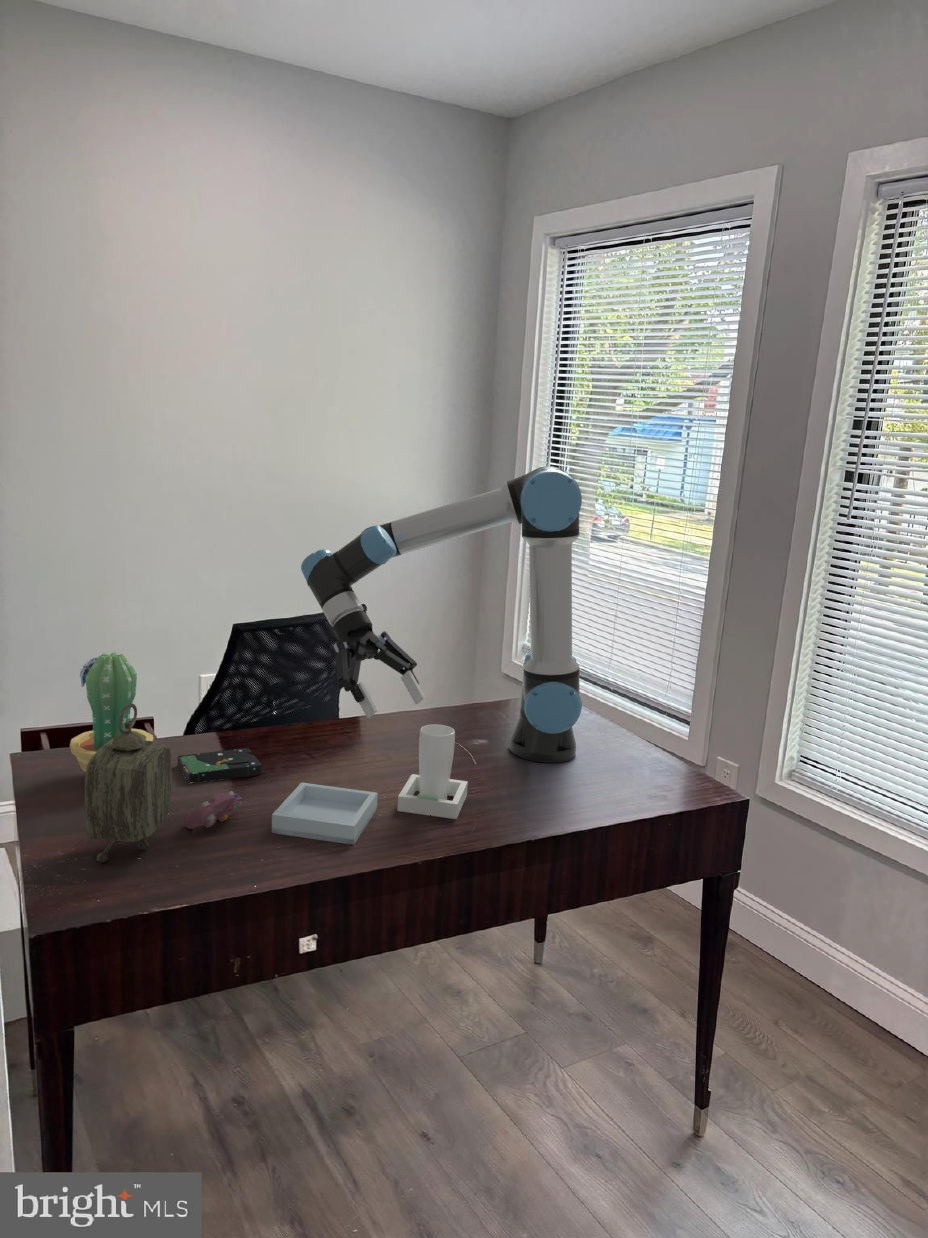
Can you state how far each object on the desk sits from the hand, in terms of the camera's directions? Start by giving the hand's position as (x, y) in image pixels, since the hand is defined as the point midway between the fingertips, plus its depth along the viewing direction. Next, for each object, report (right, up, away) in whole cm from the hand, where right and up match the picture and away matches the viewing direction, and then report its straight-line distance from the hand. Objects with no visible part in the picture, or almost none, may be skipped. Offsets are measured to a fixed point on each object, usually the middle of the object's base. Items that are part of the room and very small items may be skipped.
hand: (397, 707), depth 182 cm
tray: (-12, -19, -14) cm, 27 cm away
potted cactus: (-55, -14, -2) cm, 57 cm away
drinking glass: (+7, -18, -3) cm, 20 cm away
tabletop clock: (-42, -21, -29) cm, 55 cm away
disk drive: (-37, -14, +6) cm, 40 cm away
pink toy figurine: (-31, -19, -17) cm, 41 cm away
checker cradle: (+7, -18, -3) cm, 20 cm away
